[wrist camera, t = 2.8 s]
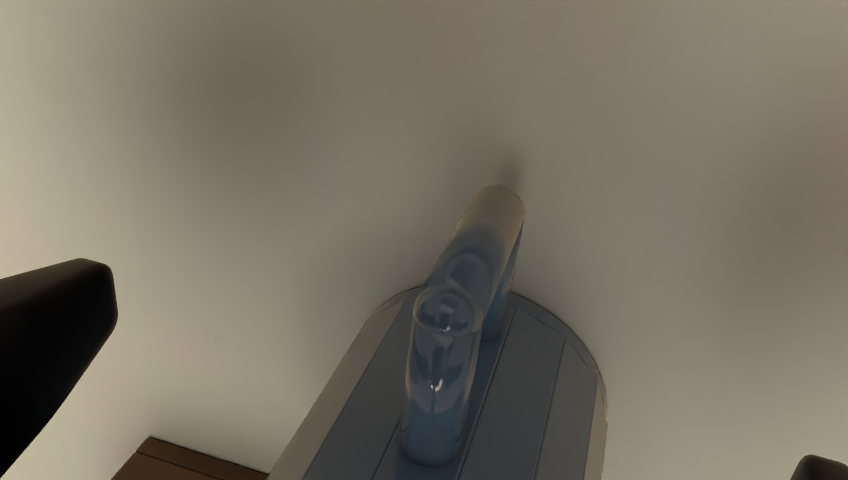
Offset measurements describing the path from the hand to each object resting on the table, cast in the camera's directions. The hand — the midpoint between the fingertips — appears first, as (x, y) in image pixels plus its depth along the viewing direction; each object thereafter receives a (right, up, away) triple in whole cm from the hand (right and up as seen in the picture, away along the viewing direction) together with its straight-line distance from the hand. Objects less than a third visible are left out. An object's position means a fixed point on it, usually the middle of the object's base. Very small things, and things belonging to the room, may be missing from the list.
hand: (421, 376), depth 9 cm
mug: (+1, -1, +7) cm, 7 cm away
